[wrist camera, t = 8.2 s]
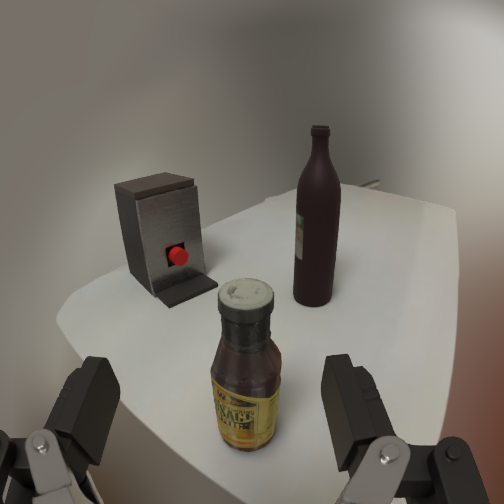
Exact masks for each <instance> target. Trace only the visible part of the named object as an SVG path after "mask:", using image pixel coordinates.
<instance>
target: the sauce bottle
mask: <svg viewBox="0 0 504 504" xmlns="http://www.w3.org/2000/svg"><path fill="white" fill-rule="evenodd" d="M273 309H274V292H273V290H272V288H271V287H270V286H269V285H268V284H267V283H264V282H262V281H259V280H257V279H251V278H245V279H235V280H232V281H230V282H227V283H225V284H224V285H223V286H222V287H221V288H220V290H219V293H218V310H219V313H220V314H221V322H222V336H221V339H220V342H219V346H218V349H217V352H216V355H215V358H214V362H213V365H212V367H211V379H212V386H213V394H214V401H215V409H216V415H217V421H218V428H219V431H220V434H221V435H222V437H223V439H224V441H225V442H226V443H227V444H228V445H229V446H230V447H232V448H234V449H237V450H240V451H247V452H249V451H254V450H256V449H259V448H261V447H264V446H265V445H267V443H268V442H269V440H270V439H271V437H272V435H273V433H274V430H275V424H276V416H277V409H278V400H279V391H280V383H281V377H280V372H281V364H282V362H281V353H280V351H279V349H278V347H277V346H276V345H275V343H274V342H273V341H272V339H271V338H270V336H271V331H270V315H271V313H272V311H273Z"/></svg>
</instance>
